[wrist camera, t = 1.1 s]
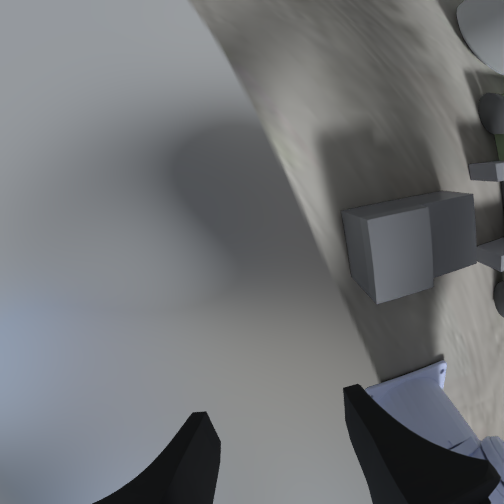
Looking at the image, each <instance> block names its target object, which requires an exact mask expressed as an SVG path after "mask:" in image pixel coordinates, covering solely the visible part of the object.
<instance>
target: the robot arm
mask: <svg viewBox="0 0 504 504" xmlns="http://www.w3.org/2000/svg"><path fill="white" fill-rule="evenodd" d="M446 368H447V363H446V362H445V361H444V360H442V361H439V362H437V363H435V364H432V365H430V366H427V367H425V368H422V369H420V370H417V371H414V372H412V373H409V374H406V375H403V376H400V377H398V378H395V379H392V380H389V381H386V382H383V383H379V384H376V385H373V386H370V387H367V388H366V389H365V390H364V389H363V388H362V387H361V386H360V385H359V384H356V385H352V386H349V387H345V388H343V393H344V406H345V421H346V425H347V428H348V432H349V436H350V440H351V442H352V445H353V448H354V450H355V453H356V455H357V458H358V460H359V462H360V465H361V468H362V470H363V473H364V475H365V478H366V481H367V484H368V486H369V490H370V494H371V498H372V502H373V504H504V441H503V440H502V439H500V438H499V437H498V436H492V437H490V436H487V437H485V438H484V439H483V440H482V441H480V440H479V439H478V438H477V436H476V435H475V433H474V432H473V430H472V429H471V428H470V426H469V425H468V423H467V422H466V421H465V419H464V418H463V417H462V415H461V414H460V412H459V411H458V410H457V408H456V407H455V406H454V404H453V403H452V402H451V400H450V399H449V398H448V396H447V395H446V394H445V392H444V391H443V386H444V380H445V374H446ZM370 395H371V396H370ZM220 453H221V441H220V439H219V437H218V435H217V433H216V431H215V429H214V427H213V425H212V423H211V421H210V418H209V416H208V414H207V412H193V413H192V414H191V415H190V416H189V418H188V419H187V420H186V422H185V423H184V425H183V426H182V427H181V429H180V430H179V431H178V433H177V434H176V435H175V437H174V438H173V439H172V441H171V442H170V443H169V444H168V445H167V447H166V448H165V449H164V450H163V451H162V452H161V454H160V455H159V456H158V457H157V458H156V459H155V460H154V461H153V462H152V463H151V464H150V465H149V466H148V467H147V468H146V469H145V470H144V471H143V472H141V473H140V474H139V475H138V476H137V477H136V478H134V479H133V480H132V481H130V482H129V483H127V484H126V485H125V486H123V487H122V488H121V489H119V490H117V491H116V492H114V493H112V494H111V495H109V496H107V497H105V498H103V499H101V500H99V501H97V502H95V503H93V504H213V499H214V494H215V488H216V482H217V477H218V472H219V465H220Z"/></svg>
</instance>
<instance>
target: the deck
mask: <svg viewBox="0 0 504 504" xmlns="http://www.w3.org/2000/svg"><path fill="white" fill-rule="evenodd" d="M479 115H480V119H481V121H482V123H483V125H484V127H485V128H486V129H487V130H488V131H489V132H490V133H492V134H494V136H495V141H496V146H497V152H498V157H499V161H492V162H483V163H474V164H469V170H470V177H471V180H480V181H496V182H499V181H501V184H502V193H503V205H504V94H501V95H500V94H494V93H486V94H484V95H483V96H482V97H481V99H480V102H479ZM477 261H478V262H480V263H482V264H484V265H487V266H489V267H491V268H493V269H495V270H497V271H500V272H502V271H504V237H503V238H500V239H497V240H494V241H491V242H488V243H485V244H482V245H479V246H477ZM494 302H495V306H496V309H497V311H498V312H499V314H500V315H501V316H502V317H504V281H502V282H500V283H498V284H497V286H496V288H495V291H494Z"/></svg>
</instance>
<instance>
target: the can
mask: <svg viewBox="0 0 504 504" xmlns="http://www.w3.org/2000/svg"><path fill="white" fill-rule="evenodd" d="M456 15H457V19H458V23H459V27H460V31H461V33H462V36H463V38H464V40H465V41H466V43H467V45H468V46H469V48H470V49H471V50H472V52H473V53H474V54H475V55H476V56H477V58H479V59H480V60H481V61H482V62H483V63H484V64H486V65H487V66H489V67H490V68H491V69H492V70H494V71H496V72H497V73H499V74H503V75H504V0H465V1H464V2H462V3H461V4H460V5H459V6H458V7H457V14H456Z"/></svg>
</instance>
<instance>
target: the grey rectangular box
mask: <svg viewBox="0 0 504 504" xmlns="http://www.w3.org/2000/svg"><path fill="white" fill-rule="evenodd" d="M341 213H342V219H343V224H344V230H345V236H346V243H347V249H348V256H349V263H350V270H351V277H352V278H353V279H354V280H355V281H356V282H357V283H358V284H359V285H360V287H361V288H362V289H363V290H364V291H365V292H366V293H367V294H368V295H369V296H370V297H371V299H372V300H373V301H374V302H375V303H376V304H380V303H383V302H387V301H390V300H394V299H397V298H400V297H404V296H407V295H410V294H413V293H416V292H420V291H423V290H426V289H429V288H432V287H434V285H433V278H435V277H438V276H441V275H444V274H447V273H450V272H453V271H456V270H459V269H462V268H465V267H467V266H470V265H473V264H476V263H477V244H476V222H475V208H474V198H473V194H469V193H460V192H450V191H438V192H433V193H428V194H422V195H417V196H412V197H407V198H402V199H397V200H392V201H387V202H382V203H377V204H372V205H367V206H362V207H357V208H352V209H347V210H342V211H341Z"/></svg>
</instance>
